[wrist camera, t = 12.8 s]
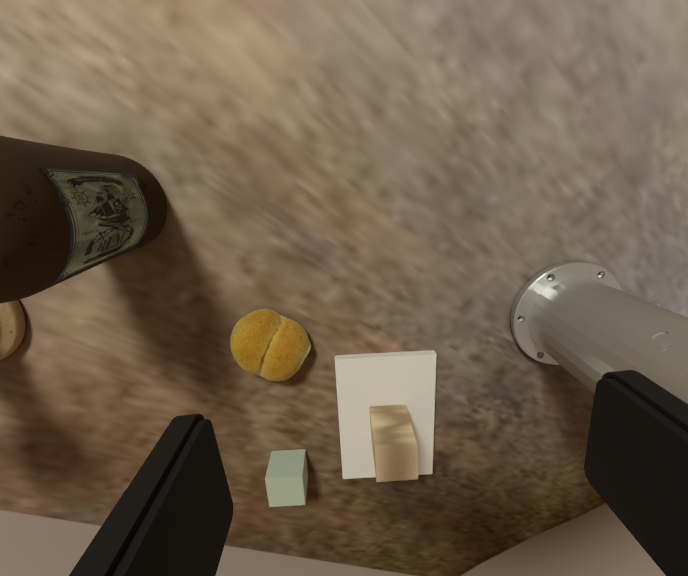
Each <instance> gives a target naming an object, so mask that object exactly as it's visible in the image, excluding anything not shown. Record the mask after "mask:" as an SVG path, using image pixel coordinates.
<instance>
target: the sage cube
mask: <svg viewBox="0 0 688 576" xmlns="http://www.w3.org/2000/svg"><path fill="white" fill-rule="evenodd" d="M265 481H266V488H267V494H268V501H269V507H275V506H294V505H305V504H306V494H307V484H308V468H307V459H306V450H305V449H302V450H284V451H272V452H271V456H270V460H269V464H268V469H267V473H266V477H265Z"/></svg>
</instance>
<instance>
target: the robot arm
mask: <svg viewBox="0 0 688 576" xmlns="http://www.w3.org/2000/svg"><path fill="white" fill-rule="evenodd" d="M547 276H548V277H547ZM510 322H511V331H512V334H513V337H514V339H515V341H516V343H517V344H518V346H519V347H520V348H521V349H522V350H523V351H524V352H525V353H526V354H527V355H529V356H530V357H531V358H533V359H535V360H536V361H539V362H542V363H545V364H552V365H561V366H562V367H563V368H564V369H566V370H567V371H568V372H569V373H570V374H571V375H573V376H574V377H575V378H576V379H577V380H579V381H580V382H581V383H582V384H583V385H584V386H586V387H587V388H588V389H589V390H590V391H591V392H593V393H594V394H595V396H594V402H593V409H592V416H591V423H590V430H589V437H588V444H587V450H586V457H585V464H584V470H585V474H586V477H587V479H588V481H589V483H590V484H591V485H592V487H593V488H594V489H595V490H596V491H597V493H598V494H599V495H600V496H601V497H602V499H603V500H604V501H605V502H606V503H607V505H608V506H609V507H610V508H611V510H612V511H613V512H614V513H615V514H616V516H617V517H618V518H619V519H620V520H621V522H622V523H623V524H624V525H625V526H626V528H627V529H628V530H629V531H630V532H631V534H632V535H633V536H634V537H635V539H636V540H637V541H638V542H639V543H640V545H641V546H642V547H643V548H644V549H645V551H646V552H647V553H648V554H649V556H650V557H651V558H652V559H653V560H654V562H655V563H656V564H657V565H658V566H659V567H660V569H661V570H662V571H663V572H664V574H665V575H666V576H688V318H687V317H685V316H682V315H680V314H677V313H675V312H672V311H670V310H667V309H665V308H662V307H661V306H660V304H659V303H658V302H648V301H645V300H643V299H640V298H638V297H635V296H633V295H630V294H628V293H625V292H623V289H622V287H621V284H620V283H619V281H618V280H617V279H616V277H615V276H614V275H613V274H612V273H610V272H609V271H608V270H606V269H604V268H602V267H600V266H598V265H595V264H592V263H589V262H583V261H567V262H563V263H559V264H555V265H553V266H551V267H548V268H546V269H544V270H543V271H541V272H539V273H538V274H536V275H535V276H534V277H533V278H532V279H531V280H529V281H528V282H527V283H526V285H525V286H524V287H523V288H522V289H521V291H520V292H519V294H518V296H517V298H516V299H515V302H514V305H513V308H512V312H511V318H510ZM232 516H233V502H232V498H231V494H230V490H229V486H228V483H227V479H226V475H225V471H224V468H223V464H222V460H221V456H220V453H219V449H218V445H217V441H216V438H215V434H214V430H213V426H212V423H211V421H210V420H208V419H206V420H205V419H204V417H203V416H202V415H201V414H193V415H184V416H177V417H175V418H174V419H173V420H172V421H171V423H170V424H169V426H168V427H167V429H166V430H165V432H164V433H163V435H162V436H161V438H160V439H159V441H158V442H157V444H156V445H155V447H154V448H153V450H152V451H151V453H150V455H149V456H148V458H147V459H146V461H145V462H144V464H143V465H142V467H141V468H140V470H139V471H138V473H137V474H136V476H135V477H134V479H133V480H132V482H131V483H130V485H129V486H128V488H127V489H126V490H125V492H124V493H123V495H122V496H121V498H120V499H119V501H118V502H117V504H116V505H115V507H114V508H113V510H112V512H111V513H110V515H109V516H108V518H107V519H106V521H105V522H104V524H103V525H102V527H101V528H100V530H99V531H98V533H97V534H96V536H95V537H94V539H93V540H92V542H91V543H90V545H89V546H88V548H87V549H86V551H85V553H84V554H83V555H82V557H81V558H80V560H79V562H78V563H77V564H76V566H75V568H74V569H73V571H72V572H71V574H70V575H69V576H215V575H216V571H217V568H218V565H219V561H220V558H221V554H222V551H223V547H224V544H225V541H226V538H227V534H228V531H229V527H230V524H231V521H232Z"/></svg>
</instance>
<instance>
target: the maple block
mask: <svg viewBox="0 0 688 576" xmlns="http://www.w3.org/2000/svg"><path fill="white" fill-rule="evenodd" d="M369 412H370V429H371V441H372V449H373V457H374V465H375V473H376V481H377V482H385V481H400V480H414V479H418V445H417V441H416V438H415V435H414V431H413V428H412V425H411V421H410V418H409V414H408V411H407V408H406V404H399V405H384V406H370V407H369Z"/></svg>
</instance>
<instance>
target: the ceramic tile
mask: <svg viewBox="0 0 688 576" xmlns="http://www.w3.org/2000/svg"><path fill="white" fill-rule="evenodd" d="M335 369H336V384H337V399H338V413H339V428H340V443H341V458H342V473H343V479H351V478H369V477H376V473H375V465H374V457H373V449H372V441H371V429H370V412H369V407H370V406H384V405H399V404H406V408H407V411H408V414H409V418H410V421H411V425H412V428H413V431H414V435H415V438H416V441H417V445H418V475H425V474H432V471H433V442H434V412H435V382H436V353H435V351H434V350H428V351H410V352H391V353H373V354H354V355H336V356H335Z"/></svg>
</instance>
